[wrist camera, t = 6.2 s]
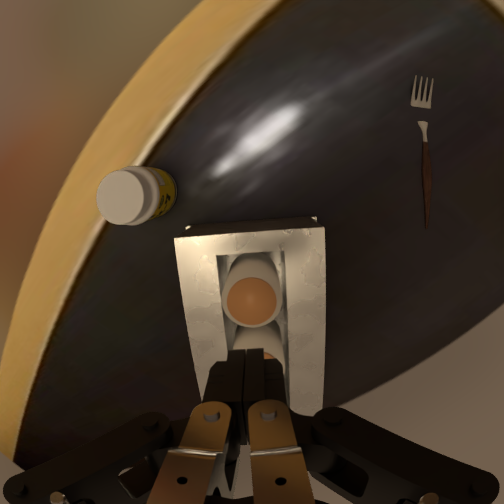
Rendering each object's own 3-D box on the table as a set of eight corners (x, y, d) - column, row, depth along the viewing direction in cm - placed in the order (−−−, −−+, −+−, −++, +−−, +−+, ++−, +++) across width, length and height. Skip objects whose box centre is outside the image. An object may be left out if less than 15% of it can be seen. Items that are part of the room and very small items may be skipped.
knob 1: (276, 249, 25) (281, 270, 19) (278, 296, 26) (284, 328, 20) (226, 253, 25) (217, 275, 20) (231, 299, 26) (224, 331, 21)
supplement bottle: (154, 226, 30) (119, 244, 21) (123, 192, 29) (80, 199, 21) (188, 192, 29) (161, 197, 21) (155, 157, 28) (119, 151, 20)
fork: (413, 228, 29) (422, 231, 27) (405, 79, 26) (414, 74, 24) (433, 227, 29) (443, 231, 27) (426, 83, 26) (435, 78, 24)
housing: (314, 215, 29) (331, 226, 22) (315, 382, 33) (326, 423, 26) (188, 225, 29) (167, 238, 23) (212, 389, 34) (203, 429, 27)
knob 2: (279, 312, 27) (284, 347, 21) (281, 351, 27) (286, 391, 22) (233, 315, 27) (226, 350, 21) (237, 354, 28) (232, 394, 22)
